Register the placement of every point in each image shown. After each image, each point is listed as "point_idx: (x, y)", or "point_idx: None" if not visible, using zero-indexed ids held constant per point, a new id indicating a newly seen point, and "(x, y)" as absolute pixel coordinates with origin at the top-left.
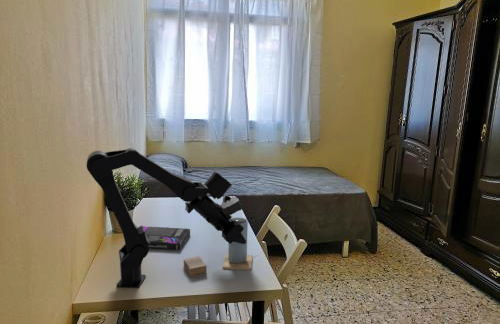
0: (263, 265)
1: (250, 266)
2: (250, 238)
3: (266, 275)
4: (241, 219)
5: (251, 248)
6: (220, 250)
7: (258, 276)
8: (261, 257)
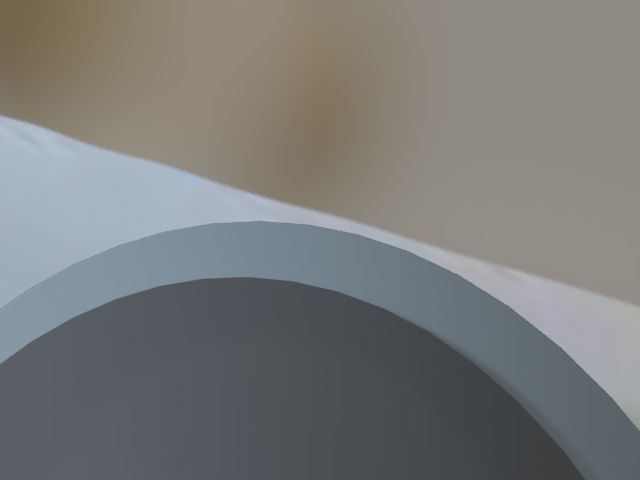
0: (465, 275)
1: None
2: (59, 148)
3: (626, 338)
4: (182, 468)
5: (188, 215)
6: None
7: (624, 405)
8: (346, 224)
